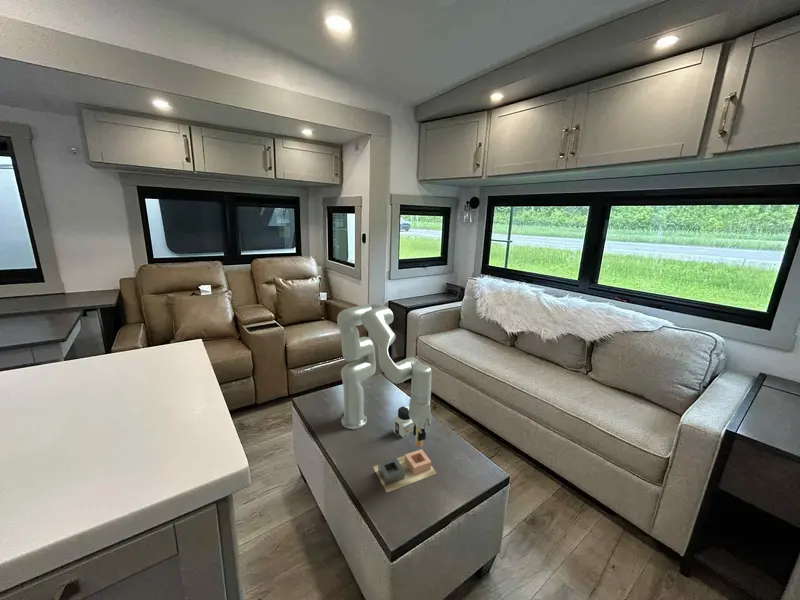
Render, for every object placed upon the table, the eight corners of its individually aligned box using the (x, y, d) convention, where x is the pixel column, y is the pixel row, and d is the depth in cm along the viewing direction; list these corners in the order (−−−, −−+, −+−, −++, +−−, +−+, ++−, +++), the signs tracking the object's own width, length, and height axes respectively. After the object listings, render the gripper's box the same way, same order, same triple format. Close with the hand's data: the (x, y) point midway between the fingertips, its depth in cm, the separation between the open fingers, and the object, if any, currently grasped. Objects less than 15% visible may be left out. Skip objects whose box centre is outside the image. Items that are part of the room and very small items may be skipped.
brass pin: (414, 443, 133) (414, 424, 131) (420, 441, 135) (421, 422, 132) (417, 448, 131) (418, 428, 128) (424, 445, 132) (425, 426, 130)
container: (403, 440, 152) (404, 416, 148) (392, 431, 158) (393, 408, 154) (415, 433, 157) (416, 410, 153) (405, 425, 162) (406, 402, 159)
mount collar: (377, 470, 132) (377, 463, 131) (395, 464, 136) (396, 457, 135) (385, 485, 125) (385, 478, 124) (404, 478, 129) (404, 471, 128)
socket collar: (404, 461, 137) (404, 454, 136) (421, 455, 141) (421, 448, 140) (413, 475, 130) (413, 468, 129) (431, 468, 134) (431, 461, 133)
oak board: (372, 469, 135) (372, 466, 134) (419, 453, 144) (419, 450, 144) (386, 495, 123) (386, 492, 122) (436, 476, 132) (437, 473, 132)
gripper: (402, 388, 132) (401, 427, 137) (422, 409, 118) (421, 453, 123) (419, 384, 135) (417, 423, 140) (440, 404, 121) (438, 447, 126)
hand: (419, 436), depth 132 cm, fingers closed on brass pin, 3 cm apart
